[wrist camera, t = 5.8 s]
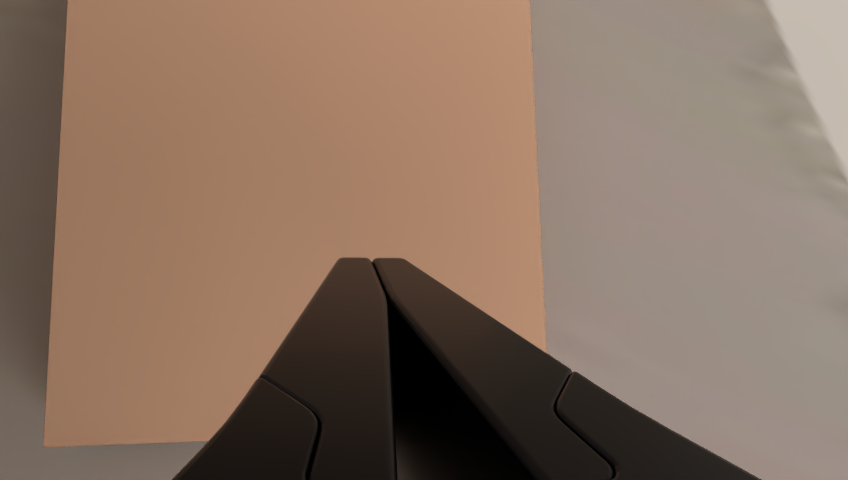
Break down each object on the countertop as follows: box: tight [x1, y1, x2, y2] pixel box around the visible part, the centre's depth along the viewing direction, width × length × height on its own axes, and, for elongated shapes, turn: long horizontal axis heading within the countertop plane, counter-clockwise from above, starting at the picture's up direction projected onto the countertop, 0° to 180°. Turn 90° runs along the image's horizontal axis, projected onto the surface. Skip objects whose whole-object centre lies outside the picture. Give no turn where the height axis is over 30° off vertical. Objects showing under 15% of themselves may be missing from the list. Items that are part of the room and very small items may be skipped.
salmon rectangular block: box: [44, 0, 547, 447], centre depth 19 cm, size 10×3×12 cm
